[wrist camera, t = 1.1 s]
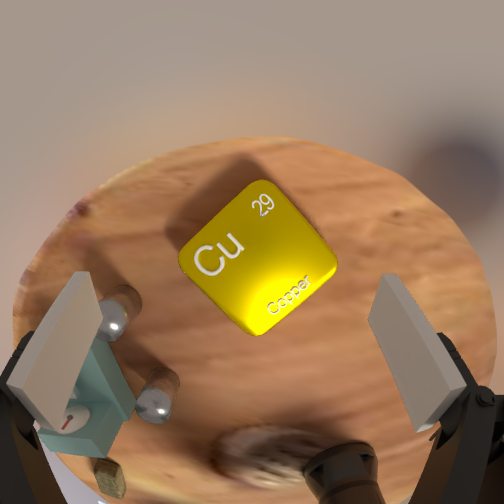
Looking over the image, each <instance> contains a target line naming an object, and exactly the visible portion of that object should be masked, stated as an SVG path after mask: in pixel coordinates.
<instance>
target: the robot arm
mask: <svg viewBox="0 0 504 504" xmlns="http://www.w3.org/2000/svg"><path fill="white" fill-rule="evenodd" d="M102 320H103V316H102V313H101V309H100V306H99V303H98V300H97V297H96V293H95V290H94V287H93V283H92V280H91V276H90V272H88V271H75V272H74V274H73V275H72V276H71V278H70V279H69V281H68V282H67V284H66V285H65V286H64V288H63V289H62V291H61V292H60V294H59V295H58V297H57V298H56V300H55V301H54V303H53V304H52V306H51V307H50V309H49V310H48V312H47V313H46V315H45V316H44V318H43V320H42V321H41V323H40V324H39V326H38V328H37V329H36V331H30V332H29V333H27V334H26V335H25V336H24V337H23V338H22V339H21V341H20V343H19V344H18V346H17V349H16V350H15V351H14V353H13V354H12V357H11V358H10V360H9V362H8V363H7V365H6V367H5V369H4V371H3V372H2V374H1V376H0V504H68V503H67V502H66V500H65V498H64V496H63V494H62V492H61V490H60V488H59V485H58V483H57V482H56V479H55V477H54V475H53V473H52V470H51V468H50V466H49V463H48V461H47V458H46V456H45V453H44V451H43V448H42V446H41V443H40V440H39V437H38V435H37V432H36V430H35V428H34V426H33V423H34V421H35V420H36V421H37V422H38V423H39V425H40V426H41V427H43V428H46V429H49V430H52V431H55V432H58V429H59V426H60V423H61V420H62V418H63V415H64V412H65V409H66V406H67V404H68V401H69V398H70V396H71V393H72V390H73V388H74V385H75V383H76V380H77V378H78V375H79V373H80V370H81V368H82V365H83V363H84V360H85V358H86V356H87V353H88V351H89V349H90V346H91V344H92V342H93V340H94V337H95V335H96V333H97V331H98V329H99V326H100V324H101V322H102ZM368 322H369V324H370V326H371V328H372V330H373V333H374V335H375V337H376V339H377V341H378V343H379V346H380V348H381V350H382V352H383V355H384V357H385V359H386V361H387V364H388V366H389V368H390V371H391V373H392V375H393V377H394V380H395V382H396V385H397V387H398V389H399V392H400V394H401V397H402V399H403V402H404V404H405V407H406V409H407V412H408V414H409V417H410V419H411V422H412V424H413V427H414V430H415V432H420V431H423V430H427V429H430V428H432V427H433V426H434V425H435V423H436V422H437V421H438V420H439V421H440V424H441V427H440V428H439V429H438V430H437V431H436V432H435V433H434V434H433V435H432V436H431V437H430V439H429V441H432V440H433V439H434V438H435V437H436V438H435V441H434V443H433V446H432V449H431V452H430V454H429V457H428V460H427V462H426V465H425V467H424V470H423V472H422V475H421V477H420V479H419V482H418V484H417V486H416V488H415V491H414V493H413V495H412V497H411V499H410V502H409V503H408V504H504V395H495V394H494V393H493V392H492V391H491V389H489V388H487V387H486V386H478V384H477V383H476V381H475V379H474V378H473V376H472V374H471V373H470V371H469V369H468V367H467V366H466V364H465V362H464V361H463V359H461V356H460V354H459V353H458V351H456V348H455V346H454V345H453V343H452V341H451V340H450V339H449V338H448V337H446V336H445V335H444V334H443V333H442V332H441V333H436V332H435V330H434V329H433V327H432V326H431V324H430V323H429V321H428V319H427V318H426V316H425V315H424V313H423V312H422V310H421V309H420V307H419V306H418V304H417V303H416V301H415V300H414V298H413V297H412V296H411V294H410V293H409V291H408V290H407V288H406V287H405V286H404V284H403V283H402V281H401V280H400V278H399V277H398V276H397V274H382V276H381V279H380V283H379V286H378V289H377V293H376V296H375V299H374V302H373V305H372V308H371V311H370V314H369V317H368ZM377 473H378V460H377V456H376V454H375V452H374V450H373V449H372V448H371V447H370V446H368V445H365V444H359V443H352V444H344V445H340V446H336V447H333V448H331V449H328V450H326V451H324V452H322V453H320V454H318V455H317V456H316V457H314V458H313V459H312V460H311V461H310V462H309V463H308V464H307V466H306V467H305V470H304V475H305V481H306V484H307V485H308V487H309V488H310V490H311V491H312V493H313V494H314V495H315V497H316V498H317V500H318V501H319V504H386V503H385V501H384V498H383V496H382V493H381V491H380V488H379V486H378V483H377Z"/></svg>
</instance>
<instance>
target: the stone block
mask: <svg viewBox="0 0 504 504" xmlns="http://www.w3.org/2000/svg"><path fill="white" fill-rule="evenodd" d="M94 475H95V478H96V480H97V483H98V486H99V489H100V491H101V492H102V493H104V494H106V495H109V496H112V497H115V498H119V499H123V496H124V494H125V492H126V485H125V481H124V476H123V473H122V469H121V467H120V466H119V465H117V464H115V463H112V462H110V461H107V460H103V459H98V461H97V463H96V466H95V468H94Z"/></svg>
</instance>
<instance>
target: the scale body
mask: <svg viewBox="0 0 504 504" xmlns="http://www.w3.org/2000/svg"><path fill="white" fill-rule="evenodd" d="M75 385H76V387H77V389H78V391H79V393H80V395H79V397H78V398H77V399H69V401H68V404H67V406H66V409H65V412H64V415H63V418H62V420H61V423H60V426H59V429H58V432H55V431H52V430H49V429H46V428H43V427H41V428H40V430H39V431H38V432H37V435H38V436H39V437H40V439H41V440H42V441H43V443H44V444H45V445H46V447H47V448H48V449H49V450H50V451H52V452H58V453H64V454H71V455H79V456H87V457H97V458H106V456H107V454H108V452H109V450H110V448H111V445H112V443H113V441H114V439H115V437H116V435H117V433H118V431H119V429H120V427H121V425H122V423H123V421H124V420H129V419H130V417H131V415H132V413H133V411H134V409H135V404H136V402H137V400H136V399H135V397H134V395H133V393H132V391H131V389H130V387H129V385H128V383H127V381H126V379H125V377H124V375H123V373H122V371H121V369H120V367H119V365H118V363H117V361H116V359H115V357H114V354H113V352H112V350H111V348H110V346H109V343H108V342H104V341H101V340H99V339H98V338H96V337H94V340H93V342H92V344H91V346H90V349H89V351H88V353H87V356H86V358H85V360H84V363H83V365H82V368H81V370H80V373H79V375H78V378H77V380H76V383H75Z"/></svg>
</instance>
